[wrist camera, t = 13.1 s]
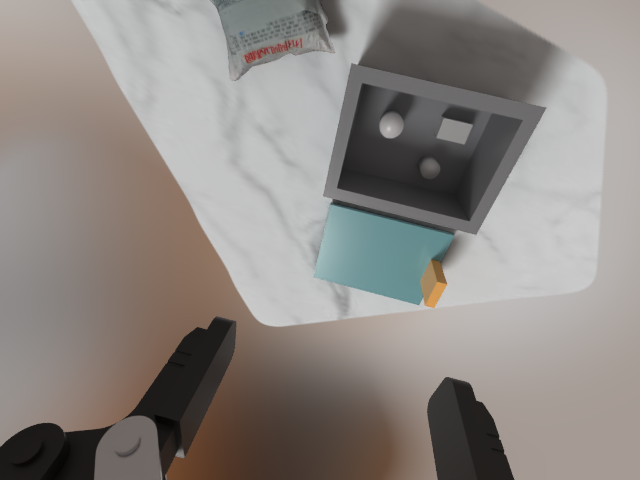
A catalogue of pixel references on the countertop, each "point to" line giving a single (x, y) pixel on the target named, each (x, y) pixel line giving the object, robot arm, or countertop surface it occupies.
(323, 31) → the packaged food
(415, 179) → the tub
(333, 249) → the lid
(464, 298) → the countertop surface
